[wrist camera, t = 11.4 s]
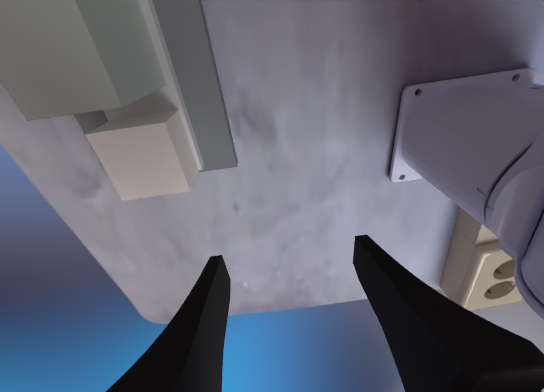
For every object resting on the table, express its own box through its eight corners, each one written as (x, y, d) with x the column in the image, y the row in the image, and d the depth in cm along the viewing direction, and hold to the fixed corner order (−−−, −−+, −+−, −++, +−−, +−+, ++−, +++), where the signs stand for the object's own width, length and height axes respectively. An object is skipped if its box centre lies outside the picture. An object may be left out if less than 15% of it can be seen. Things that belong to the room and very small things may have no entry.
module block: (131, -22, 12) (44, -68, 7) (167, 85, 15) (122, 106, 10) (54, -10, 12) (-87, -47, 7) (103, 94, 15) (27, 120, 10)
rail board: (149, -226, 10) (79, -406, 6) (237, 161, 20) (233, 191, 16) (-80, -186, 10) (-296, -336, 6) (120, 178, 20) (86, 213, 16)
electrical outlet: (604, 167, 18) (523, 302, 28) (548, 147, 22) (493, 274, 31) (506, 188, 19) (459, 314, 28) (466, 166, 22) (437, 285, 32)
